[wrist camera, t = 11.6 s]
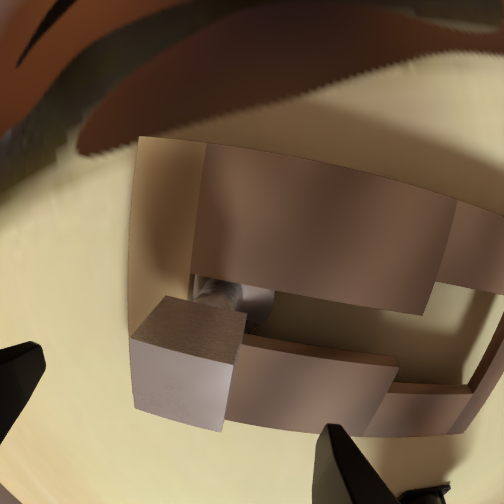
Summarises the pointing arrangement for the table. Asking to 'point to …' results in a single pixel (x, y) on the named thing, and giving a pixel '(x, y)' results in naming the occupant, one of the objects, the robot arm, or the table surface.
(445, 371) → the table surface
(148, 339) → the headed peg
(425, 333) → the table surface
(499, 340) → the keyhole board
